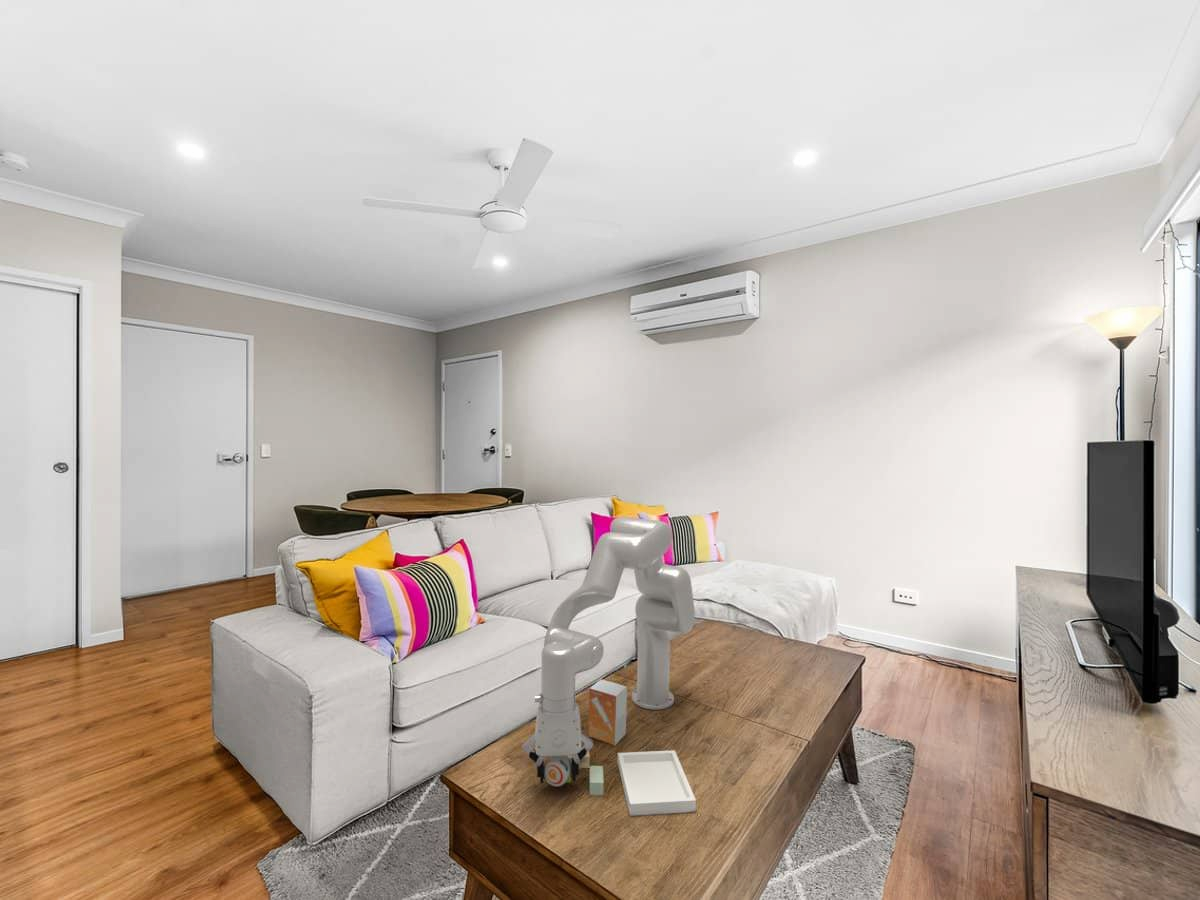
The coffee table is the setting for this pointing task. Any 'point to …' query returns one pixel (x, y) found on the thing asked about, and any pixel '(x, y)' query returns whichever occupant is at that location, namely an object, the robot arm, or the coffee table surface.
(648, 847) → the coffee table surface
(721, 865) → the coffee table surface
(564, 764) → the roller toy
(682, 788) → the tray
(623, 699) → the small box
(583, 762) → the maple block
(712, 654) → the coffee table surface
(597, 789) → the sage block
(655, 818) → the coffee table surface
